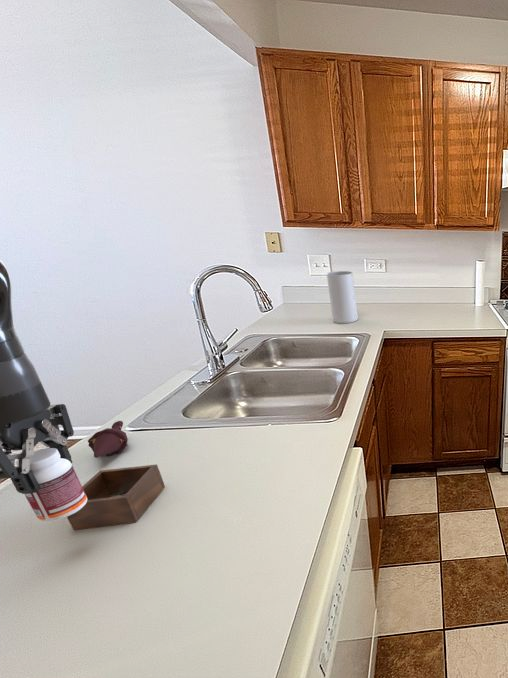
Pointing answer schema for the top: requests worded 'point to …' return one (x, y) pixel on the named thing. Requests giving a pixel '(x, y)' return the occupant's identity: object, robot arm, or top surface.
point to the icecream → (109, 441)
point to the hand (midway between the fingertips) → (48, 477)
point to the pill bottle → (54, 486)
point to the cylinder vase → (342, 296)
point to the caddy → (108, 510)
